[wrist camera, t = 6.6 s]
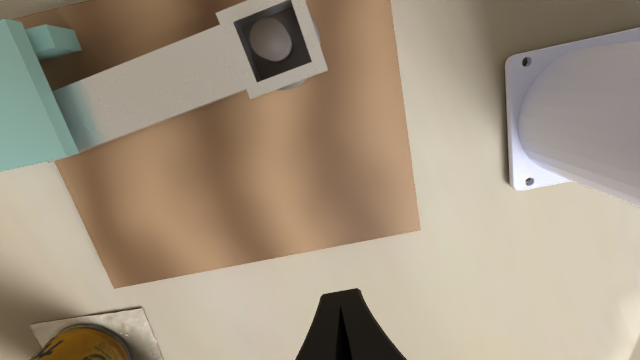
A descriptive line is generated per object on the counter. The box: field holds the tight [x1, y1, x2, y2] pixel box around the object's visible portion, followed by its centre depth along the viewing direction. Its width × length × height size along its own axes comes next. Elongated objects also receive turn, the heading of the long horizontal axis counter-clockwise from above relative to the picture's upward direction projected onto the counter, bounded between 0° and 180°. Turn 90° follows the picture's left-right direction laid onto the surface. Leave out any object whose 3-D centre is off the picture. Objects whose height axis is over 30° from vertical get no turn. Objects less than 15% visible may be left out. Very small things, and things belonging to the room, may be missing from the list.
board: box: [12, 0, 421, 289], centre depth 17 cm, size 20×16×4 cm
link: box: [48, 0, 328, 163], centre depth 16 cm, size 15×4×2 cm, turn 109°
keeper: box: [0, 19, 82, 172], centre depth 17 cm, size 6×6×4 cm
